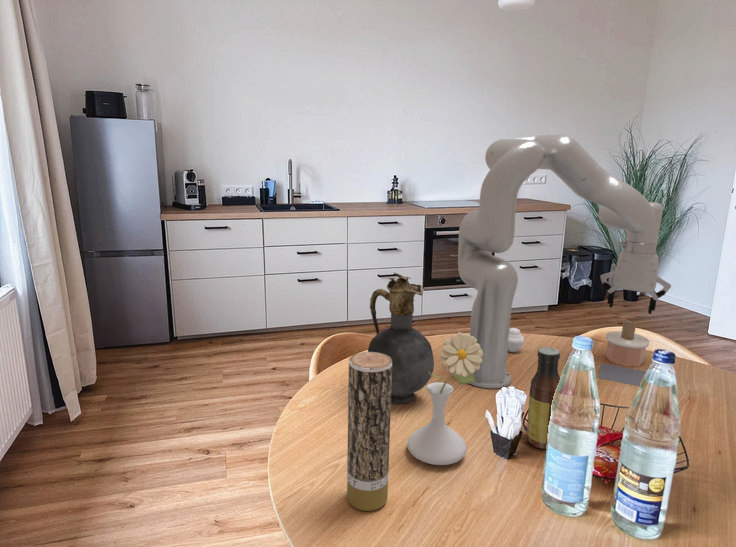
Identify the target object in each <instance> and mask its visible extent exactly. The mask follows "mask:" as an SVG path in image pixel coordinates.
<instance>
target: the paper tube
mask: <svg viewBox="0 0 736 547" xmlns="http://www.w3.org/2000/svg"><path fill="white" fill-rule="evenodd" d="M347 382H348V386H347V387H348V389H347V390H348V391H347V393H348V396H347V398H348V399H347V400H348V401H347V403H348V404H347V460H346V461H347V464H346V465H347V466H346V468H347V469H346V473H347V474H346V480H347V481H346V482H347V484H346V485H347V486H346V496H347V497H346V498H347V501H348V503H349V504H350V505H351V506H352V507H353V508H355V510H359V511H363V512H365V511H366V512H373V511H376V510H379V509H381V508H382V507H383V506H384V505H385V504H386V503H387V500H388V495H389V494H388V493H389V473H390V472H389V471H390V470H389V469H390V468H389V466H390V444H391V443H390V440H391V439H390V438H391V436H390V435H391V416H392V414H391V412H392V411H391V409H392V408H391V407H392V406H391V405H392V402H391V387H392V359H391V358H390V357H389V356H387V355H385V354H382V353H377V352H368V351H365V352H363V351H362V352H357V353H355V354H353V355H351V356H350V357H349V359H348V381H347Z"/></svg>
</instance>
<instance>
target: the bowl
mask: <svg viewBox="0 0 736 547" xmlns="http://www.w3.org/2000/svg"><path fill="white" fill-rule="evenodd" d="M646 349H647V347H646V348H639V349H636V348H626V347H621V346H618V345H615V344H612V343H610V342H608V341H607V346H606V353H605V354H606V355H605V358H606V359H608V360H609V361H610V363H614V364H617V365H619V366H622V367H640V366H641V365H643V364H644V360H645V355H646V354H645V353H646Z"/></svg>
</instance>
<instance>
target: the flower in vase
mask: <svg viewBox="0 0 736 547" xmlns="http://www.w3.org/2000/svg"><path fill="white" fill-rule="evenodd" d="M476 342H477V339H475V338H474V337H473V336H471V337H470V334H468V333H465V334H464V333H462V332H460V331H459V332H457V334H456V333H454V334H453V335H452V336H451V337H448V338H446V339H445V340H444V341H443V343H442V346H443V347H442V348H441V351H440V357H439V359H440V361H441V362H442V365H443V366H444V367H445V371H446V372H447V373H450V374H449V377H448V378H447V379H444V378H442V377H441V376H438V375H435V374H433V373H432V374H431V373H430V372H429V371H428V372H429V374H430V375H432V376H431V377H435V378H437V379H440V380H442V381H444V382H439V381H438V382H437V381H436V382H431V383H427V384H426V390H427V391H428V393H429V395H430V397H431V401H432V417H431V420H430V422H429V423H428V424H425V425H424V426H421V427H420V428H418V429H416V430H415V431H414V432H413V433H411V434H410V435H409V437H408V439H407V442H406V446H407V449H408V451H409V453H410V454H411V455H412V456H413V457H414V458H416V459H417V460H419V461H420V462H423V463H426V464H430V465H434V466H448V465H452V464H455V463H458V462H459V461H461V460H462V459H463V458H464V457H465V455H466V454H467V451H468V450H467V449H468V448H467V445H466V442H465V440H464V439H463V437H462V436H460V434H459V433H458V432H456V431H455V430H454V429H452V428H451V427H450V426H448V425H447V423H446V420H445V415H446V414H445V413H446V412H445V411H446V407H447V406H446V405H447V401H448V398H449V396H450V395H451V394H452V393H453V392H454V387H453V386H452V385H450V384H448V382H449V381H450V379H451V378H452V377H454V378H455V380H456V381H457V382H458V383H459V384H463V385H464V384H469V382H472V381H474V380H476V379H475V378H474V376H473V375H472V374H471V373H474V372H475V371H476V370H479V369H480V363H482V358H481V357H482V356H483V353H482V352H483V351H482V349H480V345H479V344H478V343H476Z"/></svg>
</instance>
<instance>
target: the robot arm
mask: <svg viewBox="0 0 736 547" xmlns="http://www.w3.org/2000/svg"><path fill="white" fill-rule="evenodd" d="M484 156H485V158H484V160H485V163H486V166H487V168H488V169H489V170H488V172H487V174H486V176H485V177H484V179H483V182H482V183H481V188H480V194H479V202H478V203H479V204H478V209H473V210H471V211H469V212H468V213H467V214H465V216H464V217H463V218H462V220H461V223H460V225H459V230H458V249H457V250H458V251H457V252H458V254H457V256H458V257H457V258H458V259H457V267H458V268H457V270H458V274H459V277H460V279H461V281H462V282H464V284H466V285H467V286H469V287H470V288H472V289H474V290H476V291H477V294H476V296H475V299H474V301H473V303H472V307H471V313H470V314H471V315H470V328H469V329H470V331H469V336H470V337H471V336H473V337H474V338H475V339H477V342H476V343H478V344H479V345H480V349H482V351H483V352H482V353H483V356H482V357H481V358H482V363H480V369H479V370H476V371H475V372H474V373H471V374H472V375H473V376H474V378H475V379H476V380H474V381H472V382H469V383H468V384H470V385H472V386H474V387H478V388H483V389H500V388H501V387H502V386H504V387H502V388H505V387H507V386H509V385H510V384H511V383H512V375H511V373H510V372H508V371H507V362H508V361H507V360H508V352H509V351H508V340H509V329H510V328H511V327H510V325H511V314H512V307H513V301H514V298H515V294H516V292H517V287H518V284H519V282H518V280H519V277H518V273H517V270H516V269H515V267H514V266H513V265H512V264H511V263H510V262H508V261H507V260H505V259H503V258H501V257H498V256H495V255H493V253H494V254H501V253H505V252H506V251H508V250H510V248H511V247H512V246H513V243H514V239H515V231H516V230H515V229H516V226H515V224H516V213H517V212H516V210H517V200H518V195H519V191H520V189H521V187H522V185H523V184H524V182H525V181H526V180H527V179H528V178H529V177H530V176H532V175H533V174H534V173H535V172H536V171H538V170H550V171H551V172H553V174H555V175H556V176H557V177H558V178H559V179H560V180H561V181H562V182H563V183H564V184H565V185H566V186H567V187H568V188H569V189H571V191H572V192H573V193H574V194H575V195H576V196H579V197H580V198H582V199H585V200H586V201H588V202H592V203H594V204H598V205H600V208H599V210H598V218H599V221H600V222H601V223H602V225H604V226H605V227H607V228H610V229H615V230H620V231H626V237H625V240H624V241H619V244H618V247H621V248H623V249H624V250H621V251H620V254H619V256H618V260H617V263H616V267H615V270H613V271H610V272H607V273H604V274H601V275H600V278H599V279H600V281H601V283H602V286H603V287H604V288H605V290H606V291H607V293H608V297H607V304H609V306H608V307H609V308H613V305H614V299H615V294H616V293H615V291H616V290H618V289H620V290H626V291H633V292H640V293H647V294H649V295H650V296H651V297H650V299H649V304H648V310H647V313H648V314H649V315H652V311H654V312H655V309H656V305H657V301H658V299H660V298H661V297H663V296H665V295H666V294H667V292H669V290H670V289H671V288H672V284H671V283H669V282H668V281H666V280H664V279H663V278H661V277H659V276H658V274H659V255H657V254H656V253H657V246H658V240H659V235H660V229H661V223H662V218H663V211H664V206H663V205H662V204H661V203H659V202H654V201H649V200H647V198H646V197H645V196H644V195H643V194H642V193H641V192H640V191H638V189H636V188H635V187H633V186H632V185H631V184H629V183H626V181H623V180H622V179H620V178H618V177H617V176H615V175H614V174H612V173H610V172H609V171H607V170H605V169H604V168H602V167H603V166H601V165H600V164H599V162H597V161H596V160H595V159H594V158H593V157H592V156H591V155H590V154H589V153H588V152H587V150H586V149H585V148H584V147H583V146H582V145H581V144H580V143H579V142H578V141H577V140H576V139H575V138H573V137H571V136H570V135H567V134H540V135H534V136H525V137H512V138H503V139H502V138H501V139H498V140H495V141H493V142H492V143H491V144H490V145H489V146H488V148H487V150H486V152H485V155H484ZM609 278H613V284H612V285H611V284H610V283H609V282H608V280H607V279H609ZM657 283H658V284H659V285H661V286H662V289H660V290H659V291H658V292H657V291H656V290H655V289H656V286H657Z"/></svg>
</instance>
